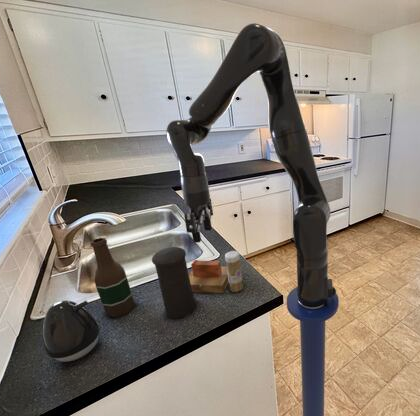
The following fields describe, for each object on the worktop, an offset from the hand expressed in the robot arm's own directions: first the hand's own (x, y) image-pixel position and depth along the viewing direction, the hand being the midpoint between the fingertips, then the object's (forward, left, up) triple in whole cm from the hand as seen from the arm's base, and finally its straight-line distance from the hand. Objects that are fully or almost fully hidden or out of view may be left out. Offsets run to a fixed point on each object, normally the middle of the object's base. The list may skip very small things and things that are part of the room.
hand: (203, 235), depth 87 cm
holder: (+1, 0, -15) cm, 15 cm away
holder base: (+1, 0, -19) cm, 19 cm away
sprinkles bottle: (-10, +3, -19) cm, 21 cm away
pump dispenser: (+23, +29, -19) cm, 41 cm away
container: (+4, +13, -19) cm, 23 cm away
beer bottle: (+23, +14, -19) cm, 33 cm away
